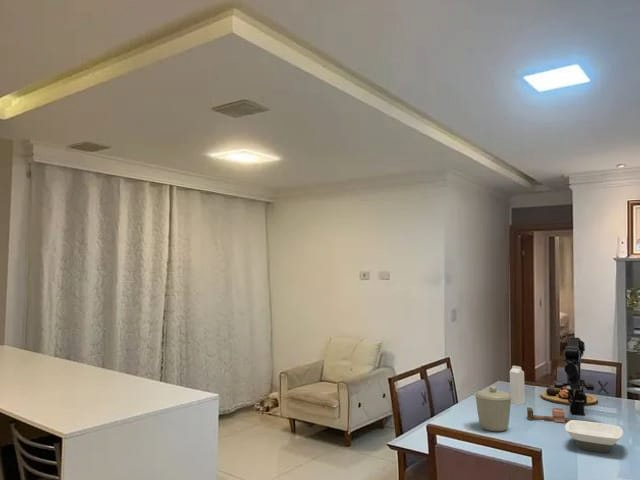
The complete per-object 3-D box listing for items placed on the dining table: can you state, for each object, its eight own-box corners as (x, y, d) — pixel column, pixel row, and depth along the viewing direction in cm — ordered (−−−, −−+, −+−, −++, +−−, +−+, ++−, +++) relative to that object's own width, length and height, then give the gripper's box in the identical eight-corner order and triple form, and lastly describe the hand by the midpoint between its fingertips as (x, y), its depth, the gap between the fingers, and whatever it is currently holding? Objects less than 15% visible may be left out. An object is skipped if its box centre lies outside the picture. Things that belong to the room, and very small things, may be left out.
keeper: (562, 419, 269) (562, 408, 269) (564, 422, 263) (564, 411, 263) (552, 418, 271) (552, 407, 271) (554, 421, 264) (554, 411, 264)
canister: (499, 422, 264) (499, 381, 266) (520, 433, 247) (519, 389, 248) (468, 424, 260) (467, 382, 262) (487, 435, 243) (486, 390, 244)
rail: (567, 419, 268) (567, 410, 269) (570, 423, 262) (569, 413, 262) (527, 416, 274) (527, 407, 275) (528, 420, 268) (528, 410, 268)
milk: (519, 405, 298) (518, 367, 299) (510, 403, 303) (509, 365, 304) (525, 403, 302) (524, 366, 303) (515, 401, 307) (514, 364, 308)
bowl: (623, 460, 210) (622, 439, 211) (562, 450, 222) (562, 430, 223) (624, 445, 229) (623, 426, 230) (568, 436, 241) (568, 418, 242)
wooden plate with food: (604, 408, 292) (603, 393, 293) (544, 403, 301) (543, 389, 302) (591, 396, 323) (590, 383, 324) (537, 392, 332) (537, 380, 333)
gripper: (555, 373, 261) (556, 404, 260) (595, 376, 256) (597, 407, 255) (552, 369, 272) (553, 399, 271) (591, 371, 266) (592, 402, 265)
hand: (573, 402), depth 265 cm, fingers closed
